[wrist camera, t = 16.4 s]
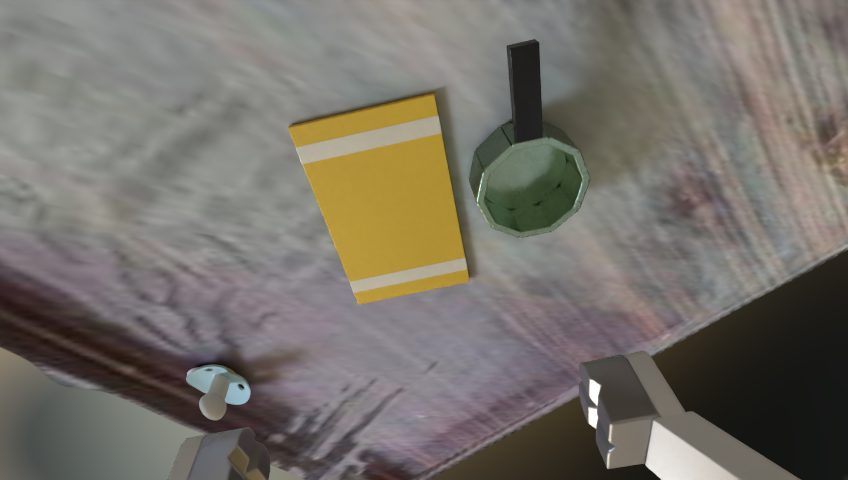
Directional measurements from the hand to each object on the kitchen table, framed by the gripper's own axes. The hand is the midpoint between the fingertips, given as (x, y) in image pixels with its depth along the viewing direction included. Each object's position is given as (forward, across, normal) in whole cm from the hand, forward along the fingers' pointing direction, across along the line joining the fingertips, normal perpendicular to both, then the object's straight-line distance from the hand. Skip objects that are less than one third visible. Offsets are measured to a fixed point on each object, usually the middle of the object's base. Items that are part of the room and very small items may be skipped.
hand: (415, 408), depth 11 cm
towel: (+29, +3, +12) cm, 32 cm away
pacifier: (+29, +28, +29) cm, 50 cm away
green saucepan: (+29, -9, +7) cm, 31 cm away
